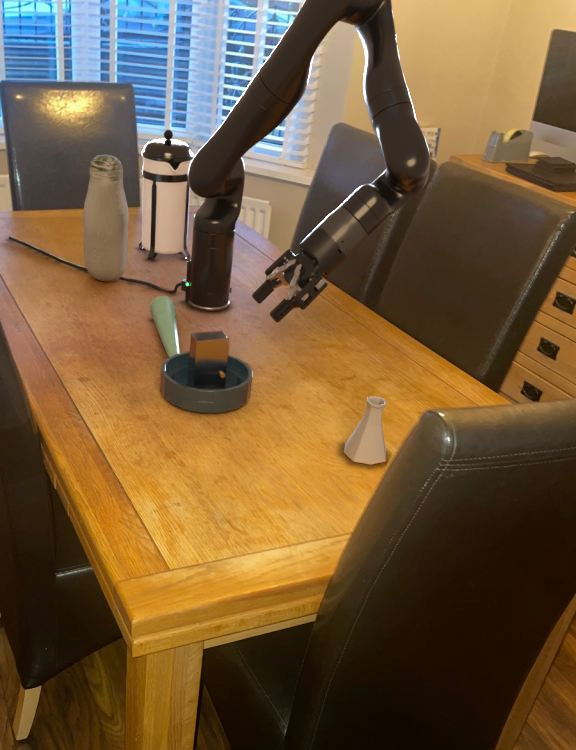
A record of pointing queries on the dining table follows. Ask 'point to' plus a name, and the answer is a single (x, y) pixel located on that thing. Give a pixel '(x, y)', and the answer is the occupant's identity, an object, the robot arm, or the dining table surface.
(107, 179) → the glass bottle
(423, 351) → the dining table surface
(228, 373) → the bowl
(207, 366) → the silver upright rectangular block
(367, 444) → the flask
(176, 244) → the coffee press
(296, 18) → the robot arm
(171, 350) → the mint green cone
